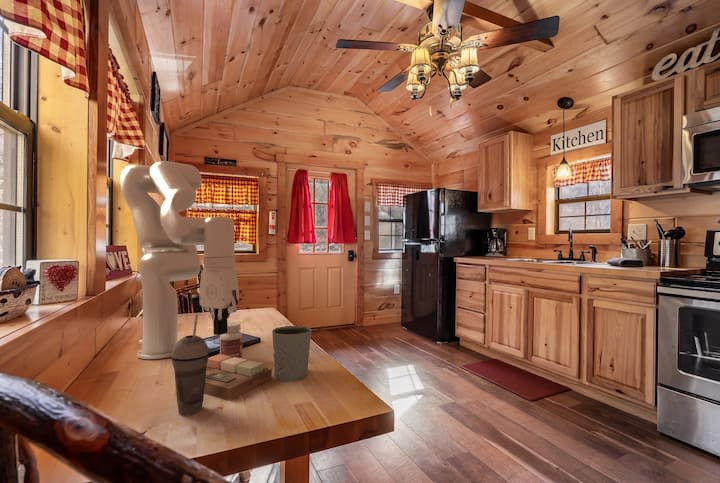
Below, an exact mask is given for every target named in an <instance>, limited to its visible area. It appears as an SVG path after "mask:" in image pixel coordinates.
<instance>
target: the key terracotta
mask: <svg viewBox="0 0 720 483" xmlns="http://www.w3.org/2000/svg"><path fill="white" fill-rule="evenodd" d="M230 358H232V356H227V355H222V354H220V353H218V354H216V355H213V356H212V355H211V356H210V357H209V356H208V362H207V367H211V368H215V369H220V368H221V362H222V361H225V360H228V359H230Z"/></svg>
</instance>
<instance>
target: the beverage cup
mask: <svg viewBox="0 0 720 483" xmlns="http://www.w3.org/2000/svg"><path fill="white" fill-rule="evenodd" d="M198 316H199V314H195V316H194V324H193V325H194V326H193V332H192V334H190V335H186V336H183V337H182V338H180V339H179V340H178V342H177V344H176V345H175V347H174V349H173V352H172V356H171V357H170V358H171V363H172V367H173V371H174V380H175V393H176V405H177V408H178V414H179V416H193V415H196V414H198V413H200V412H201V411H203V410H202V409H203V404H204V398H205V397H204V396H205V393H204V387H205V377H206V366H207V362H208V358H209V356H210V352H209V346H208V344H207V343H206V341H205V340H204V339H203V338H202V337H200V336H199V335H196V334H197V325H198V319H199V317H198ZM192 414H193V415H192Z"/></svg>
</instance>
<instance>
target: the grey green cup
mask: <svg viewBox="0 0 720 483" xmlns="http://www.w3.org/2000/svg"><path fill="white" fill-rule="evenodd" d="M312 331H313V330H312V329H311V328H310V327H307V326H301V325H287V326H286V325H285V326H279V327H275V328H273V329H272V331H271V333H272V335H271V336H272V345H273V346H272V347H273V362H274V365H273V366H274V368H273V370H274V378H275V379H276V380H278V381H281V382H297V381H301V380H304V379H305V378H306V377H308V374H309V373H308V372H309V371H308V370H309V357H310V349H311V348H310V347H311V339H312Z"/></svg>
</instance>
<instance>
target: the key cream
mask: <svg viewBox="0 0 720 483" xmlns="http://www.w3.org/2000/svg"><path fill="white" fill-rule="evenodd" d="M247 361H248V359H246V358H242V359H241V358H236V357H233V358H230V359H228V360H225V361H222V362H221V370H224V371H228V372H232V373H235V372H237V365H239V364H242V363H244V362H247Z"/></svg>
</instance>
